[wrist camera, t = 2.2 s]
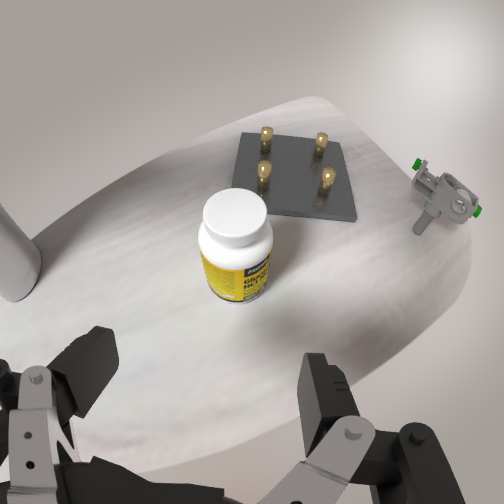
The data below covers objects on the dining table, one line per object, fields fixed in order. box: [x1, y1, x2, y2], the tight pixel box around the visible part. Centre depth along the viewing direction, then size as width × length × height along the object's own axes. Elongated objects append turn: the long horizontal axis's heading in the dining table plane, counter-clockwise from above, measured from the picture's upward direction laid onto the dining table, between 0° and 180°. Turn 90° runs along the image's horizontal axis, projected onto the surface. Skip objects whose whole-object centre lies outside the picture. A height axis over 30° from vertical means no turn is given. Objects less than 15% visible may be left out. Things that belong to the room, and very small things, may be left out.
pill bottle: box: [198, 188, 273, 304], centre depth 24 cm, size 6×6×11 cm
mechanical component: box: [412, 158, 482, 235], centre depth 29 cm, size 3×10×10 cm, turn 47°
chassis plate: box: [232, 127, 357, 222], centre depth 36 cm, size 16×16×4 cm
